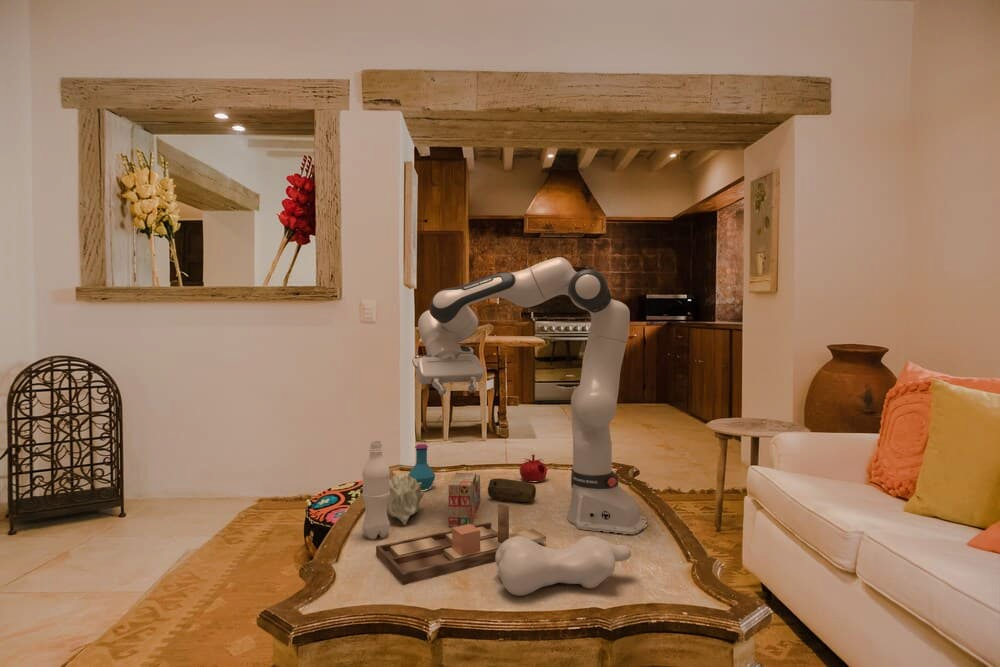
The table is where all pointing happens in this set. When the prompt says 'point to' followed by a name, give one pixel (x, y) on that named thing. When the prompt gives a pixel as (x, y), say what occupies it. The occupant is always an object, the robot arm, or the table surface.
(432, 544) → the broken strip
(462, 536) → the terracotta cube
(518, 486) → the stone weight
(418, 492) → the wavy plaster lump
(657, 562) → the table surface
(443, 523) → the table surface
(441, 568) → the board
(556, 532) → the table surface
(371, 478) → the water bottle
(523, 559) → the torso sculpture
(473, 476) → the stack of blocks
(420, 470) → the perfume bottle
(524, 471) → the pomegranate
